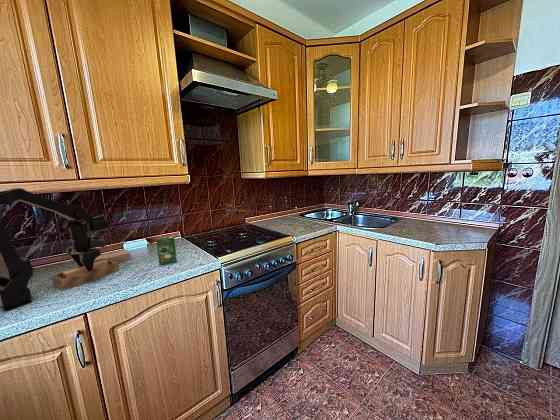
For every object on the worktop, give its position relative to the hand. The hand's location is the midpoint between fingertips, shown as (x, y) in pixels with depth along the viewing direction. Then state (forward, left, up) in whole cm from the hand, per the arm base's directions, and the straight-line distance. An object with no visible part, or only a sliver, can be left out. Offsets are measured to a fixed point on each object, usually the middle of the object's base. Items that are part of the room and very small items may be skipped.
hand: (86, 270), depth 101 cm
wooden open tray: (0, 0, -3) cm, 3 cm away
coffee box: (+26, -19, -4) cm, 32 cm away
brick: (+14, +10, -4) cm, 18 cm away
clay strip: (0, 0, -2) cm, 2 cm away
